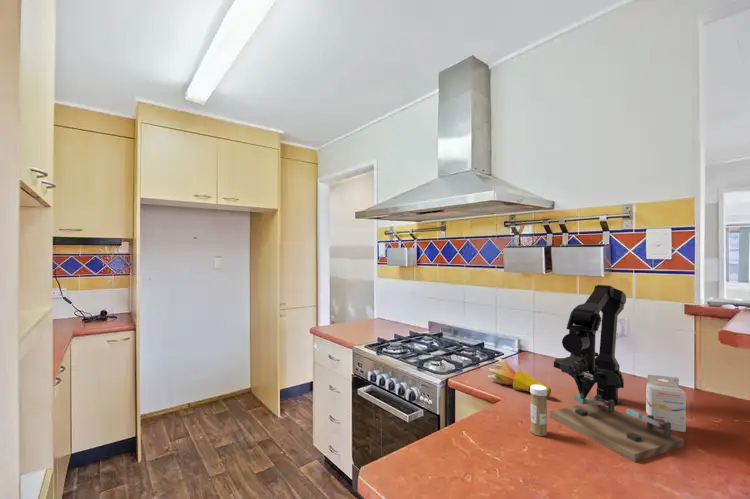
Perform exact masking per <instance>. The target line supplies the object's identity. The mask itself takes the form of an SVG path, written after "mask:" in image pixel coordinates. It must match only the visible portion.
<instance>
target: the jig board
mask: <svg viewBox="0 0 750 499" xmlns="http://www.w3.org/2000/svg"><path fill="white" fill-rule="evenodd" d="M594 397H595V398H597V399H601V395H597V394H595V396H594ZM549 413H550V415H549V416H550V417H549V418H551V419H552V420H554V421H556V422H558V423H560V424H562V425H564V426H566V427H567V428H570V429H571V430H573V431H575V432H577V433H578V434H581V435H583V436H585V437H587V438H588V439H589V440H592V441H594V442H595V443H598V444H599V445H601V446H603V447H604V448H605V447H606V448H607V449H609V450H611V451H613V452H614V453H616V454H618V455H620V456H622V457H624V458H626V459H628V460H630V461H631V462H633V463H636V462H639V461H643V460H646V459H648V458H652V457H655V456H658V455H661V454H665V453H668V452H671V451H674V450H677V449H680V448H683V447H684V446H685V443H684V442H685V440H684V438H681V437H679V436H677V435H675V434H672V430H671V423H669V422H666V423H664V430H663V429H661V428H656V427H654V425H652V424H650V423H648V422H645V421H644V422H643V420H639V419H638V418H637V419H636V418H635V417H633V416H631V415H628V414H624V413H622V412H619V411H618V410H615V405H614V400H608V406H602V405H593V404H582V403H581V404H578V405H573V406H569V407H564V408H558V409H553V410H551V411H550V412H549ZM647 417H648V418H651V419H653V420H654V416H652V415H649V416H647Z"/></svg>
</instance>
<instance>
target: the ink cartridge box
mask: <svg viewBox="0 0 750 499" xmlns="http://www.w3.org/2000/svg"><path fill="white" fill-rule="evenodd" d="M646 377H647V380H646V382H647V383H646V385H645V386H646V390H645V391H646V393H645V395H646V398H645V399H646V402H645V416H646V417H647V416H649V415H652V416H654V420H655V421H657V422H660V423H662V424H664V423H666V422H669V423H671V431H673V432H674V431H675V432H682V433H686V432H687V427H686V426H687V424H686V423H687V392H685V391H684V390H683V389H681V388H680V387H679V384H680V383H679V382H680V378H679V377H675V376H668V375H667V376H666V375H657V374H656V375H655V374H647V376H646ZM661 380H662V381H661ZM663 380H665V381H663ZM654 427H656V426H654ZM656 428H658V429H660V428H659V427H656Z"/></svg>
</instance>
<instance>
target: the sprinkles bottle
mask: <svg viewBox="0 0 750 499" xmlns="http://www.w3.org/2000/svg"><path fill="white" fill-rule="evenodd" d="M529 393H530V432H531V434H533V435H535V436H539V437H544V436H547V435H548V429H547V428H548V427H547V426H548V408H547V406H548V404H547V401H548V400H547V399H548V398H547V397H548V396H547V388H546V387H545V386H542V385H531V386H530V392H529Z"/></svg>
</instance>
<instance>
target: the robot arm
mask: <svg viewBox="0 0 750 499" xmlns="http://www.w3.org/2000/svg"><path fill="white" fill-rule="evenodd" d="M626 302H627V296H626V293H625V292H623V290H620V289H618V288H614V286H613V285H606V284H597V285H595V286H594V288H593V291H592V292H591V294H590V296H588V298H587V299H586V301H585V302H584V303H582V304H578V305H576V306H575V307H574V308H573V309H572V311H571V312H570V315H569V318H568V320H567V324H566V330H568V334H565V335H564V336H563V337H562V340H561V344H562V347H563V349H564V350H565V351H567V352H568V353H570V355H569V356H567V357H559V358H555V359H554V361H553V368H555V369H558V370H561V373H565V374H567V375H568V376H571V378H573V380H574V382H575V383H576V386H577V389H578V393H579V396H581V397H582V398H584V399H585V398H586V397H588V395H589V393H590V392H591V390H592V388H593V387H594V386H595V384H596V383H597V384H596V395H601V399H603V400H605V401H608V400H614V406H615V405H621V404H623V401H622V400H619V389H624V388H625V384H624V383H625V379H624V377H623V373H622V372H621V370H620V364H619V362H618V360H617V359H616V357H615V356H616V355H615V354H616V341H617V330H618V329H617V328H618V317H619V315H620V314H621V313H622V311H623V310H624V307H625V304H626ZM600 312H601V313H602V314H601V315H600ZM600 326H601V327H600ZM599 328H600V339H599V340H600V341H599V352H596V335H597V334H596V333H597V332H598V331H599ZM592 398H595V396H593V397H592Z"/></svg>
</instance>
